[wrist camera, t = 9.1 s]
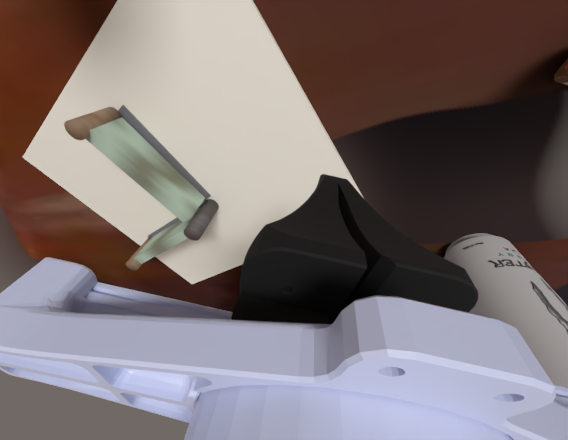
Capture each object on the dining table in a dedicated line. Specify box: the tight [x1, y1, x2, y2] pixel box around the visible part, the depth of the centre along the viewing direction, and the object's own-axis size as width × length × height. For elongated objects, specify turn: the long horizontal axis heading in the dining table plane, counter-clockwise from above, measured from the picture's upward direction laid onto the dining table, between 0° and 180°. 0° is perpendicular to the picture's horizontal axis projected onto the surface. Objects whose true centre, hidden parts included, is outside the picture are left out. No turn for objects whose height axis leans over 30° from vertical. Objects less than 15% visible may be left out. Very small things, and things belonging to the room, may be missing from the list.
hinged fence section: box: [64, 107, 205, 223], centre depth 20 cm, size 11×1×4 cm, turn 37°
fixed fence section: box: [126, 199, 219, 270], centre depth 25 cm, size 13×2×5 cm, turn 125°
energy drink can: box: [444, 233, 568, 387], centre depth 19 cm, size 6×6×15 cm
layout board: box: [23, 0, 363, 284], centre depth 24 cm, size 24×28×1 cm
